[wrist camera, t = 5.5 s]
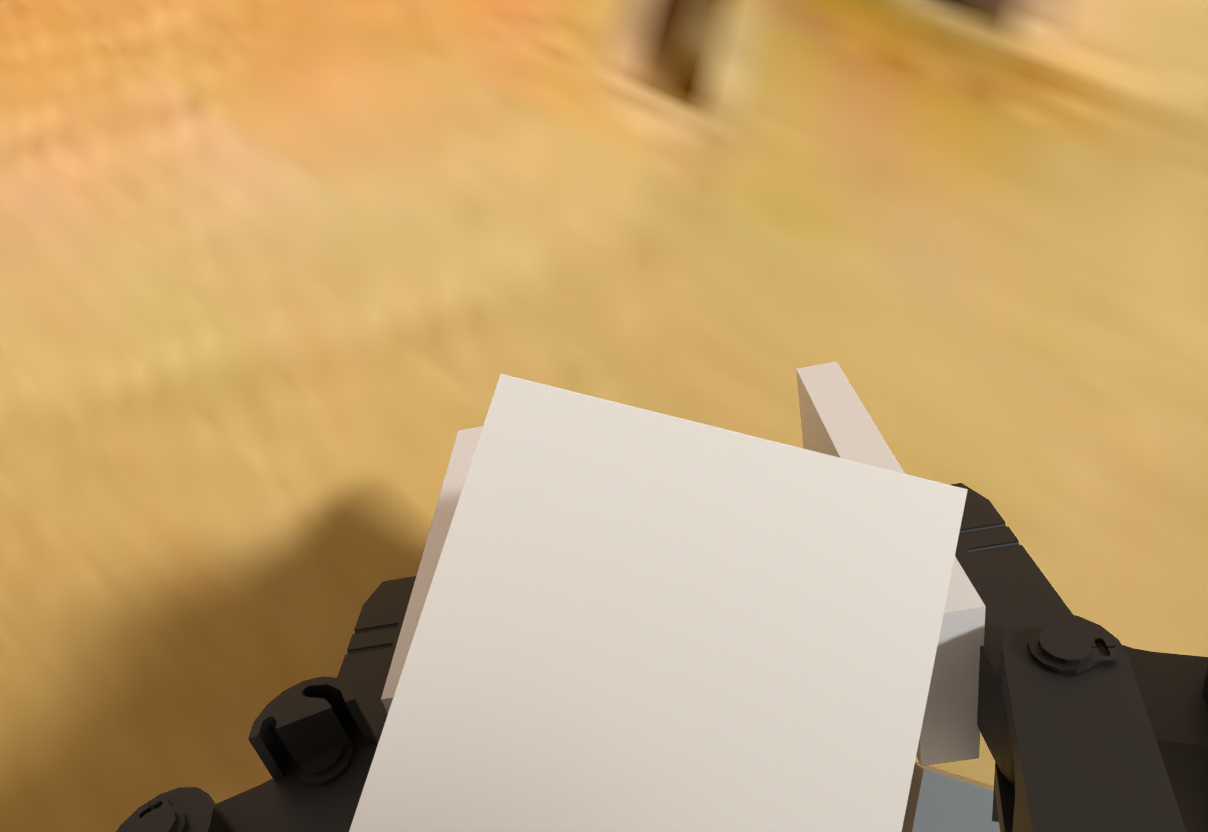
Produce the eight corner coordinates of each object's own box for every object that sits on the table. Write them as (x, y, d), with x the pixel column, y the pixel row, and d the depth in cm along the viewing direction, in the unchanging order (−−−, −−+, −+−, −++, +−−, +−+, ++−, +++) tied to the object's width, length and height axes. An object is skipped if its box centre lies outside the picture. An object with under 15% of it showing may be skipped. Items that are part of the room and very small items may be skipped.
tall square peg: (626, 522, 19) (500, 374, 8) (812, 574, 18) (967, 489, 7) (572, 711, 18) (344, 845, 7) (766, 775, 17) (860, 1044, 6)
